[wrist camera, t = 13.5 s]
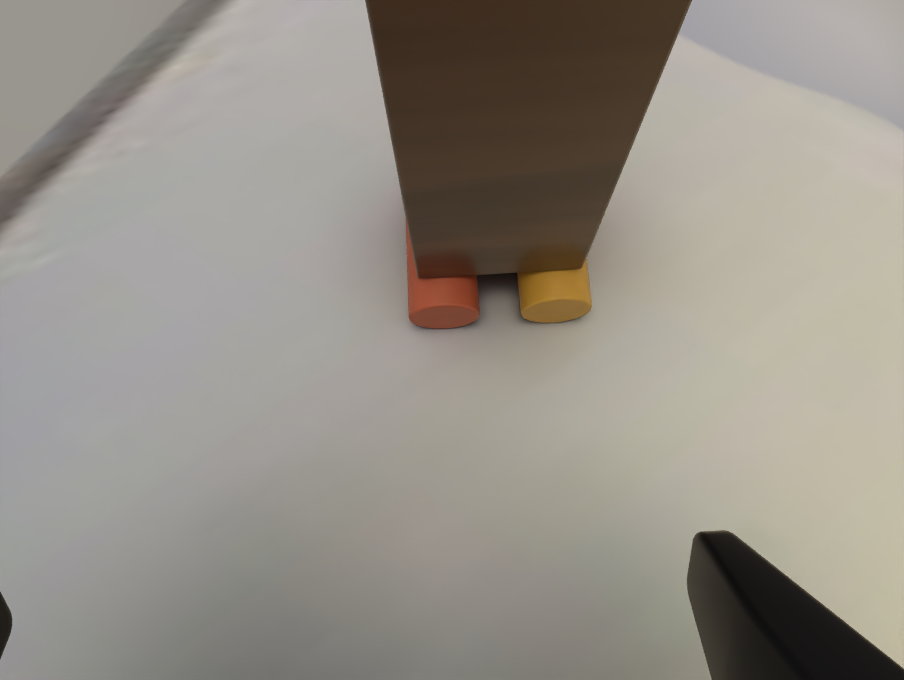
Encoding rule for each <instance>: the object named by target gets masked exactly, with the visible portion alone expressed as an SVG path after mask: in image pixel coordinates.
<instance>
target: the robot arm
mask: <svg viewBox="0 0 904 680" xmlns="http://www.w3.org/2000/svg"><path fill="white" fill-rule="evenodd" d="M687 589H688V595H689V599H690V603H691V606H692V610H693V614H694V617H695V621H696V624H697V628H698V632H699V635H700V639H701V642H702V646H703V650H704V653H705V657H706V660H707V664H708V668H709V671H710V675H711V678H712V680H904V669H903V668H902V667H901V666H900V665H898V664H897V663H896V662H895V661H893V660H892V659H891V658H890V657H888V656H887V655H886V654H885V653H883V652H882V651H881V650H879V649H878V648H877V647H876V646H874V645H873V644H872V643H871V642H869V641H868V640H867V639H866V638H864V637H863V636H862V635H861V634H859V633H858V632H857V631H855V630H854V629H853V628H852V627H850V626H849V625H848V624H847V623H845V622H844V621H843V620H842V619H840V618H839V617H838V616H837V615H835V614H834V613H833V612H832V611H830V610H829V609H828V608H826V607H825V606H824V605H823V604H821V603H820V602H819V601H818V600H816V599H815V598H814V597H813V596H811V595H810V594H809V593H808V592H806V591H805V590H804V589H802V588H801V587H800V586H799V585H797V584H796V583H795V582H794V581H792V580H791V579H790V578H789V577H787V576H786V575H785V574H784V573H782V572H781V571H780V570H779V569H777V568H776V567H775V566H773V565H772V564H771V563H770V562H768V561H767V560H766V559H765V558H763V557H762V556H761V555H760V554H758V553H757V552H756V551H755V550H753V549H752V548H751V547H750V546H748V545H747V544H746V543H744V542H743V541H742V540H741V539H739V538H738V537H737V536H736V535H734V534H733V533H731V532H729V531H724V530H723V531H704V532H699V533H697V534H696V535H695V537H694V539H693V543H692V550H691V556H690V562H689V569H688V575H687ZM11 628H12V615H11V612H10V609H9V607H8V606H7V604H6V602H5V600H4V598H3V596H2V594H1V592H0V659H1V656H2V654H3V651H4V648H5V646H6V643H7V641H8V638H9V636H10V633H11Z"/></svg>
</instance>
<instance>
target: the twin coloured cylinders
mask: <svg viewBox="0 0 904 680" xmlns="http://www.w3.org/2000/svg"><path fill="white" fill-rule="evenodd" d="M406 243H407V274H408V305H409V319H410V321H411V322H412V323H414V324H416V325H418V326H422V327H427V328H437V329H443V328H454V327H460V326H464V325H467V324H470V323H472V322H474V321H475V320H477V319H478V317H479V314H480V313H479V298H478V283H477V275H469V276H452V277H436V278H418V277H417V274H416V268H415V263H414V258H413V252H412V247H411V242H410V236H409V231H408V226H407V220H406ZM517 276H518V287H519V299H520V311H521V315H522V316H523V318H525V319H527V320H530V321H534V322H542V323H553V322H562V321H568V320H572V319H575V318H578V317H581V316H583V315H585V314H587V313H588V312H589V311H590V310H591V307H592V301H591V293H590V285H589V276H588V268H587V259H585V262H584V264H583V267H582V268H581V269H566V270H550V271H534V272H518V273H517Z"/></svg>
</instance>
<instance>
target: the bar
mask: <svg viewBox="0 0 904 680" xmlns="http://www.w3.org/2000/svg"><path fill="white" fill-rule="evenodd" d="M691 1H692V0H365V2H366V7H367V12H368V18H369V23H370V28H371V34H372V39H373V44H374V50H375V55H376V60H377V66H378V71H379V76H380V82H381V87H382V92H383V98H384V103H385V108H386V114H387V119H388V124H389V130H390V135H391V140H392V146H393V151H394V156H395V162H396V167H397V172H398V178H399V183H400V188H401V194H402V199H403V204H404V210H405V215H406V220H407V226H408V231H409V236H410V242H411V247H412V252H413V258H414V263H415V268H416V274H417V277H418V278H436V277H452V276H469V275H485V274H501V273H518V272H534V271H550V270H566V269H581V268H582V267H583V264H584V262H585V259H586V257H587V255H588V252H589V250H590V247H591V245H592V242H593V240H594V238H595V235H596V233H597V230H598V228H599V225H600V223H601V221H602V218H603V216H604V213H605V211H606V208H607V206H608V203H609V201H610V199H611V196H612V194H613V191H614V189H615V186H616V184H617V182H618V179H619V177H620V174H621V172H622V169H623V167H624V165H625V162H626V160H627V157H628V155H629V152H630V150H631V147H632V145H633V143H634V140H635V138H636V135H637V133H638V130H639V128H640V126H641V123H642V121H643V118H644V116H645V113H646V111H647V109H648V106H649V104H650V101H651V99H652V96H653V94H654V91H655V89H656V87H657V84H658V82H659V79H660V77H661V74H662V72H663V70H664V67H665V65H666V62H667V60H668V57H669V55H670V53H671V50H672V48H673V45H674V43H675V40H676V38H677V35H678V33H679V31H680V28H681V26H682V23H683V21H684V18H685V16H686V13H687V11H688V9H689V6H690V4H691Z"/></svg>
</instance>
